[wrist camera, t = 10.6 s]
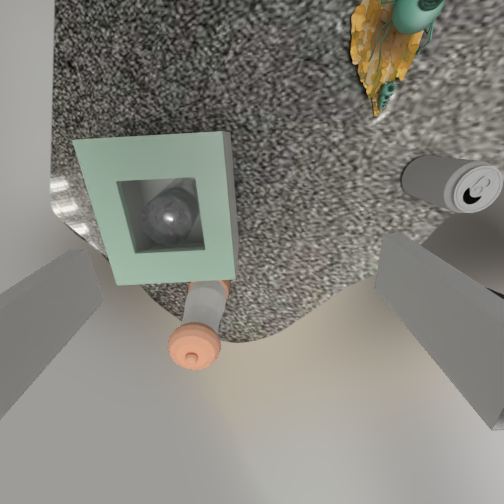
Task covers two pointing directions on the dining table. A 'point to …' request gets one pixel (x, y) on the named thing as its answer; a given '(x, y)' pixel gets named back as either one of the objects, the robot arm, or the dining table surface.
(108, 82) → the dining table surface
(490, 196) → the beverage can
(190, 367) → the pepper shaker
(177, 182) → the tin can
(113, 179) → the caddy
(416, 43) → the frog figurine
